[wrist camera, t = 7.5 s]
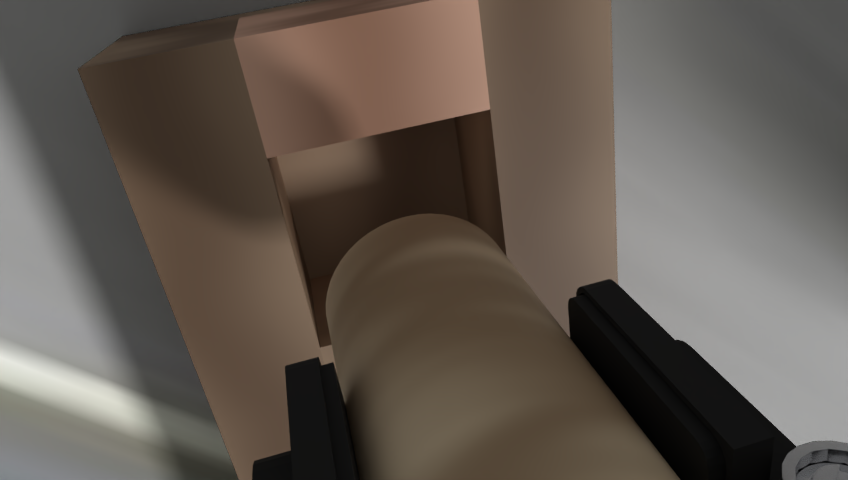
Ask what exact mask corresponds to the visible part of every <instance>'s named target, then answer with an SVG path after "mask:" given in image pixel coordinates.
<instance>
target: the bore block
mask: <svg viewBox="0 0 848 480" xmlns="http://www.w3.org/2000/svg"><path fill="white" fill-rule="evenodd" d="M78 72H79V74H80V77H81V79H82V82H83V84H84V87H85V89H86V92H87V95H88V97H89V100H90V102H91V105H92V107H93V110H94V112H95V115H96V117H97V120H98V123H99V125H100V128H101V130H102V133H103V135H104V138H105V140H106V143H107V145H108V148H109V150H110V153H111V156H112V158H113V161H114V163H115V166H116V168H117V171H118V173H119V176H120V178H121V181H122V184H123V186H124V189H125V191H126V194H127V196H128V199H129V201H130V204H131V206H132V209H133V212H134V214H135V217H136V219H137V222H138V224H139V227H140V229H141V232H142V234H143V237H144V240H145V242H146V245H147V247H148V250H149V252H150V255H151V257H152V260H153V262H154V265H155V267H156V270H157V273H158V275H159V278H160V280H161V283H162V285H163V288H164V290H165V293H166V295H167V298H168V301H169V303H170V306H171V308H172V311H173V313H174V316H175V318H176V321H177V323H178V326H179V329H180V331H181V334H182V336H183V339H184V341H185V344H186V346H187V349H188V351H189V354H190V357H191V359H192V362H193V364H194V367H195V369H196V372H197V374H198V377H199V379H200V382H201V385H202V387H203V390H204V392H205V395H206V397H207V400H208V402H209V405H210V407H211V410H212V412H213V415H214V418H215V420H216V423H217V425H218V428H219V430H220V433H221V435H222V438H223V440H224V443H225V446H226V448H227V451H228V453H229V456H230V458H231V461H232V463H233V466H234V468H235V471H236V474H237V476H238V479H239V480H252V469H253V463H254V461H255V460H259V459H262V458H266V457H269V456H273V455H276V454H280V453H283V452H287V451H290V450H291V447H290V433H289V419H288V405H287V392H286V378H285V366H286V365H290V364H293V363H297V362H301V361H305V360H308V359H312V358H316V357H319V359H320V362H321V365H324V364H328V363H332V362H333V363H334V366H335V369H336V365H335V359H334V354H333V349H332V344H331V338H330V333H329V328H328V322H327V317H326V298H327V291H328V288H329V284H330V281H331V278H332V276H333V274H334V272H335V269H336V268H337V266H338V265H339V263H340V261H341V260H342V258H343V257H344V256H345V255H346V253H347V252H348V251H349V250H350V249H351V248H352V247H353V246H354V245H355V244H356V243H357V242H358V241H359V240H360V239H361V238H363V237H364V236H365V235H367V234H368V233H369V232H371V231H373V230H374V229H376V228H378V227H379V226H381V225H383V224H386V223H388V222H390V221H393V220H396V219H399V218H402V217H406V216H411V215H417V214H444V215H449V216H454V217H457V218H460V219H463V220H466V221H468V222H470V223H472V224H474V225H476V226H478V227H479V228H480V229H482V230H483V231H484V232H486V233H487V234H488V235H489V236H490V237H491V238H492V239H493V240H494V241H495V242H496V244H497V245H498V246H499V248H500V249H501V250H502V251H503V253H504V254H505V255H506V257H507V258H508V259H509V260H510V262H511V263H512V264H513V265H514V267H515V268H516V269H517V271H518V272H519V273H520V274H521V276H522V277H523V278H524V280H525V281H526V282H527V283H528V285H529V286H530V287H531V289H532V290H533V291H534V292H535V294H536V295H537V296H538V298H539V299H540V300H541V301H542V303H543V304H544V305H545V307H546V308H547V309H548V310H549V312H550V313H551V314H552V316H553V317H554V318H555V319H556V321H557V322H558V323H559V324H560V326H561V327H562V328H563V330H564V331H565V332H566V333H567V335H568V336H569V337H570V330H569V315H568V301H569V299H570V298H573V297H576V292H577V289H578V288H579V287H581V286H585V285H588V284H592V283H596V282H600V281H603V280H607V279H611V280H613V281H614V282H616V283H617V284H618V275H617V233H616V191H615V148H614V106H613V64H612V22H611V0H311V1H306V2H300V3H295V4H290V5H285V6H279V7H274V8H269V9H263V10H258V11H253V12H248V13H242V14H237V15H232V16H227V17H221V18H216V19H211V20H205V21H200V22H195V23H190V24H184V25H179V26H174V27H169V28H163V29H158V30H153V31H147V32H142V33H137V34H132V35H126V36H122V37H121V38H119V39H118V40H117V41H115V42H114V43H113V44H111V45H110V46H108V47H107V48H106V49H104V50H103V51H102V52H100V53H99V54H98V55H96V56H95V57H93V58H92V59H91V60H89V61H88V62H87V63H85V64H84V65H83V66H81V67H80V68H78ZM336 373H337V370H336ZM337 376H338V375H337Z"/></svg>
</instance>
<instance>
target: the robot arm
mask: <svg viewBox="0 0 848 480" xmlns="http://www.w3.org/2000/svg"><path fill="white" fill-rule="evenodd" d="M568 315H569V330H570V339H571V340H572V341H573V342H574V344H575V345H576V346H577V348H578V349H579V350H580V351H581V353H582V354H583V355H584V357H585V358H586V359H587V360H588V362H589V363H590V364H591V366H592V367H593V368H594V369H595V371H596V372H597V373H598V374H599V376H600V377H601V378H602V380H603V381H604V382H605V383H606V385H607V386H608V387H609V389H610V390H611V391H612V392H613V394H614V395H615V396H616V398H617V399H618V400H619V401H620V403H621V404H622V405H623V407H624V408H625V409H626V410H627V412H628V413H629V414H630V416H631V417H632V418H633V419H634V421H635V422H636V423H637V424H638V426H639V427H640V428H641V430H642V431H643V432H644V433H645V435H646V436H647V437H648V439H649V440H650V441H651V442H652V444H653V445H654V446H655V448H656V449H657V450H658V451H659V453H660V454H661V455H662V457H663V458H664V459H665V460H666V462H667V463H668V464H669V466H670V467H671V468H672V469H673V471H674V472H675V473H676V474H677V476H678V477H679V478H680V480H848V443H843V442H837V441H813V442H809V443H806V444H802V445H799V446H797V447H796V446H795V445H794V444H793V443H792V442H791V441H790V440H789V439H788V438H787V437H786V436H785V435H784V434H782V433H781V432H780V431H779V430H778V429H777V428H776V427H775V426H774V425H773V424H772V423H771V422H770V421H769V420H768V419H767V418H766V417H765V416H763V415H762V414H761V413H760V412H759V411H758V410H757V409H756V408H755V407H754V406H753V405H752V404H751V403H750V402H749V401H748V400H747V399H746V398H744V397H743V396H742V395H741V394H740V393H739V392H738V391H737V390H736V389H735V388H734V387H733V386H732V385H731V384H730V383H729V382H728V381H727V380H726V379H724V378H723V377H722V376H721V375H720V374H719V373H718V372H717V371H716V370H715V369H714V368H713V367H712V366H711V365H710V364H709V363H708V362H707V361H705V360H704V359H703V358H702V357H701V356H700V355H699V354H698V353H697V352H696V351H695V350H694V349H693V348H692V347H691V346H689V345H688V344H687V343H685V342H684V341H680V340H674V339H673V338H672V337H671V336H670V335H669V334H668V333H667V332H666V331H665V330H664V329H663V328H662V327H661V326H660V325H659V324H658V323H657V322H656V321H655V320H654V319H653V318H652V317H651V316H650V315H649V314H648V313H647V312H645V311H644V310H643V309H642V308H641V307H640V306H639V305H638V304H637V303H636V302H635V301H634V300H633V299H632V298H631V297H630V296H629V295H628V294H627V293H626V292H625V291H624V290H623V289H622V288H621V287H620V286H619V285H618V284H617V283H616V282H614V281H613V280H611V279H607V280H603V281H600V282H596V283H592V284H588V285H585V286H581V287H579V288H578V289H577V292H576V297H573V298H570V299H569V301H568ZM285 378H286V392H287V405H288V419H289V433H290V447H291V450H290V451H287V452H283V453H280V454H276V455H273V456H269V457H266V458H262V459H259V460H255V461H254V463H253V469H252V480H360V478H359V473H358V468H357V463H356V458H355V452H354V447H353V442H352V437H351V432H350V427H349V422H348V416H347V411H346V406H345V402H344V398H343V395H342V391H341V387H340V384H339V380H338V376H337V373H336V369H335V366H334V363H333V362H332V363H328V364H324V365H321V362H320V359H319V357H316V358H312V359H308V360H305V361H301V362H297V363H293V364H290V365H286V366H285Z"/></svg>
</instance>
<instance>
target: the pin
mask: <svg viewBox="0 0 848 480" xmlns="http://www.w3.org/2000/svg"><path fill="white" fill-rule="evenodd" d="M326 317H327V322H328V328H329V333H330V338H331V344H332V349H333V354H334V359H335V365H336V370H337V375H338V380H339V384H340V387H341V391H342V395H343V398H344V402H345V406H346V411H347V416H348V422H349V427H350V432H351V437H352V442H353V447H354V452H355V458H356V463H357V468H358V473H359V478H360V480H680V478H679V477H678V476H677V474H676V473H675V472H674V471H673V469H672V468H671V467H670V466H669V464H668V463H667V462H666V460H665V459H664V458H663V457H662V455H661V454H660V453H659V451H658V450H657V449H656V448H655V446H654V445H653V444H652V442H651V441H650V440H649V439H648V437H647V436H646V435H645V433H644V432H643V431H642V430H641V428H640V427H639V426H638V424H637V423H636V422H635V421H634V419H633V418H632V417H631V416H630V414H629V413H628V412H627V410H626V409H625V408H624V407H623V405H622V404H621V403H620V401H619V400H618V399H617V398H616V396H615V395H614V394H613V392H612V391H611V390H610V389H609V387H608V386H607V385H606V383H605V382H604V381H603V380H602V378H601V377H600V376H599V374H598V373H597V372H596V371H595V369H594V368H593V367H592V366H591V364H590V363H589V362H588V360H587V359H586V358H585V357H584V355H583V354H582V353H581V351H580V350H579V349H578V348H577V346H576V345H575V344H574V342H573V341H572V340H571V339H570V337H569V336H568V335H567V333H566V332H565V331H564V330H563V328H562V327H561V326H560V324H559V323H558V322H557V321H556V319H555V318H554V317H553V316H552V314H551V313H550V312H549V310H548V309H547V308H546V307H545V305H544V304H543V303H542V301H541V300H540V299H539V298H538V296H537V295H536V294H535V292H534V291H533V290H532V289H531V287H530V286H529V285H528V283H527V282H526V281H525V280H524V278H523V277H522V276H521V274H520V273H519V272H518V271H517V269H516V268H515V267H514V265H513V264H512V263H511V262H510V260H509V259H508V258H507V257H506V255H505V254H504V253H503V251H502V250H501V249H500V248H499V246H498V245H497V244H496V242H495V241H494V240H493V239H492V238H491V237H490V236H489V235H488V234H487V233H486V232H484V231H483V230H482V229H480V228H479V227H478V226H476V225H474V224H472V223H470V222H468V221H466V220H463V219H460V218H457V217H454V216H449V215H444V214H417V215H411V216H406V217H402V218H399V219H396V220H393V221H390V222H388V223H386V224H383V225H381V226H379V227H378V228H376V229H374V230H373V231H371V232H369V233H368V234H367V235H365V236H364V237H363V238H361V239H360V240H359V241H358V242H357V243H356V244H355V245H354V246H353V247H352V248H351V249H350V250H349V251H348V252H347V253H346V255H345V256H344V257H343V258H342V260H341V261H340V263H339V265H338V266H337V268H336V269H335V272H334V274H333V276H332V278H331V281H330V284H329V288H328V291H327V298H326Z"/></svg>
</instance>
